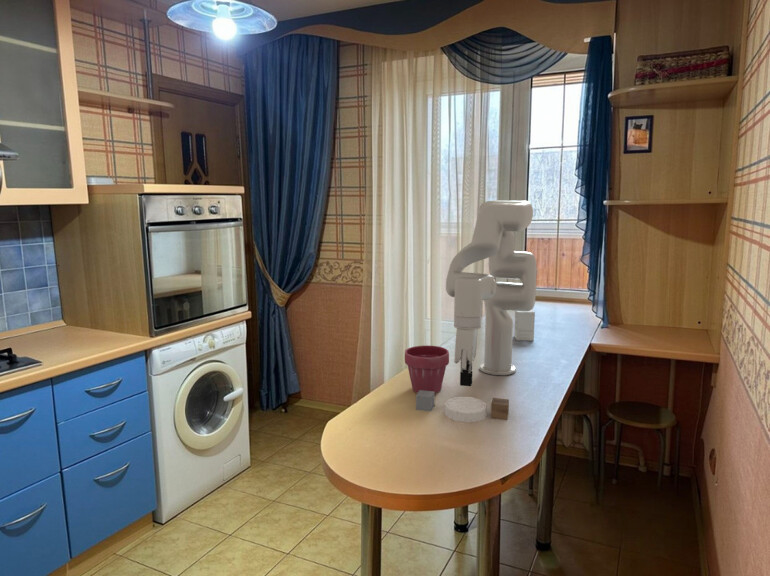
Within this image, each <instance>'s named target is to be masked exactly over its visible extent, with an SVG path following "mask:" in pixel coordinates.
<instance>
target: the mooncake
mask: <svg viewBox="0 0 770 576" xmlns="http://www.w3.org/2000/svg"><path fill="white" fill-rule="evenodd" d="M443 412H444V414H445V417H447V418H448V419H449V420H452V421H456V422H457V421H458V422H459V423H463V422H464V423H475V422H480V421H483V420H486V419H485V418H487V416H488V415H487V414H488V405H487V403H486V402H485V401H483V400H482V399H479V398H476V397H471V396H456V397H451V398H449V399H447V400H446V401H445V402H444V411H443Z"/></svg>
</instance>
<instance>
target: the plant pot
mask: <svg viewBox="0 0 770 576" xmlns="http://www.w3.org/2000/svg"><path fill="white" fill-rule="evenodd" d="M404 363H405V365H406V366H407V369H408V374H409V379H410V383H411V387H412V391H413V392H415V393H416V394H417V393H418V392H419V390H424V391H434V394H437V393H440V392H441V390H442V386H443V382H444V377H445V372H446V368H447V366H448V365H449V364H450V352H449V349H447V348H444V347H442V346H439V345H428V344H427V345H416V346H412V347H408V348H406V349H405V350H404Z"/></svg>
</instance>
